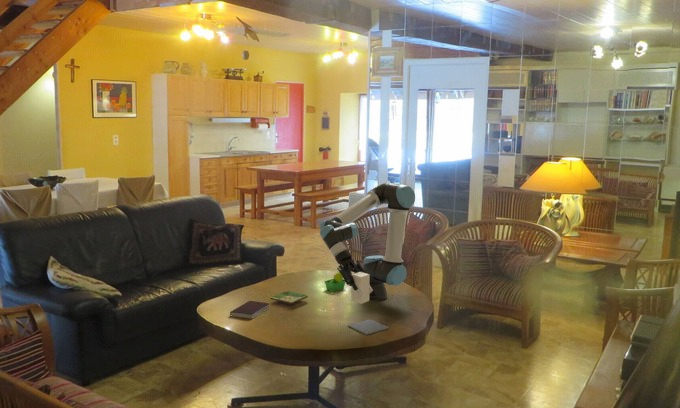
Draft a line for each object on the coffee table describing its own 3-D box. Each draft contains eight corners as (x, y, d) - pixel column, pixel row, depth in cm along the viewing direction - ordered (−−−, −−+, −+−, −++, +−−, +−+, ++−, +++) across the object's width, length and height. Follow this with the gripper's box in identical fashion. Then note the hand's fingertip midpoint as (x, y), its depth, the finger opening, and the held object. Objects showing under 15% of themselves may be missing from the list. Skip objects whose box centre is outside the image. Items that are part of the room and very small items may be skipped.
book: (229, 317, 297) (229, 310, 297) (249, 305, 315) (248, 299, 314) (251, 320, 293) (251, 314, 292) (269, 308, 310) (269, 302, 310)
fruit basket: (337, 285, 350) (337, 267, 349) (348, 289, 344) (348, 270, 343) (323, 289, 342) (323, 270, 341) (334, 293, 336) (334, 274, 334)
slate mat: (370, 320, 293) (370, 319, 293) (389, 328, 282) (389, 327, 282) (347, 326, 285) (347, 325, 285) (366, 335, 274) (366, 333, 274)
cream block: (359, 297, 284) (360, 271, 282) (369, 300, 280) (369, 274, 278) (351, 300, 280) (351, 274, 278) (360, 303, 276) (361, 276, 274)
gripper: (350, 254, 294) (375, 293, 286) (323, 261, 281) (348, 302, 272) (358, 245, 290) (383, 284, 282) (331, 252, 276) (356, 294, 268)
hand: (366, 293), depth 277 cm, fingers closed on cream block, 6 cm apart
